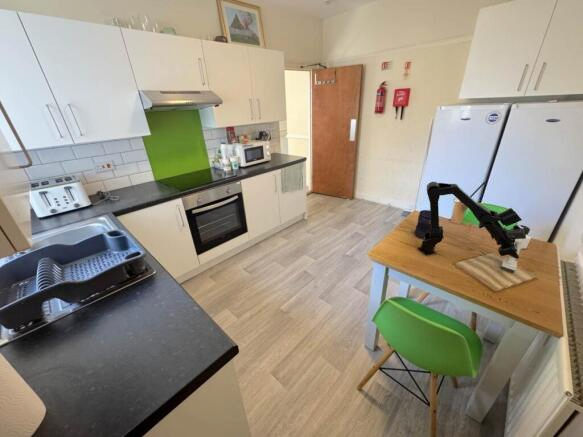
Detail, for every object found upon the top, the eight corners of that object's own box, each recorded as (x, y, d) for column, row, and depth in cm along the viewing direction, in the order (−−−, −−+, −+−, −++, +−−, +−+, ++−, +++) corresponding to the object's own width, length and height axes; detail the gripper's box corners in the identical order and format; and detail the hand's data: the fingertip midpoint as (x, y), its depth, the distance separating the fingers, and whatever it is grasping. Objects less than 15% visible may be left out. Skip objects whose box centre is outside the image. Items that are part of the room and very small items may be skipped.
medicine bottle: (516, 241, 137) (525, 223, 132) (526, 249, 131) (535, 230, 125) (503, 241, 138) (511, 223, 132) (512, 248, 132) (521, 229, 126)
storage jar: (410, 233, 149) (416, 207, 141) (421, 229, 152) (428, 204, 144) (424, 241, 141) (431, 214, 133) (435, 237, 144) (443, 210, 136)
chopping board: (494, 292, 104) (495, 289, 104) (454, 264, 121) (455, 262, 121) (535, 278, 111) (536, 276, 110) (491, 254, 128) (492, 252, 127)
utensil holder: (470, 226, 155) (486, 182, 141) (450, 224, 157) (464, 181, 143) (462, 218, 164) (477, 176, 150) (444, 217, 166) (457, 176, 152)
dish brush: (513, 273, 111) (526, 247, 106) (500, 268, 115) (511, 243, 109) (514, 266, 117) (527, 241, 111) (501, 262, 120) (513, 237, 114)
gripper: (519, 231, 101) (543, 261, 100) (514, 215, 114) (535, 240, 113) (489, 242, 108) (511, 269, 108) (488, 225, 122) (508, 249, 121)
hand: (517, 256), depth 112 cm, fingers closed on dish brush, 2 cm apart
